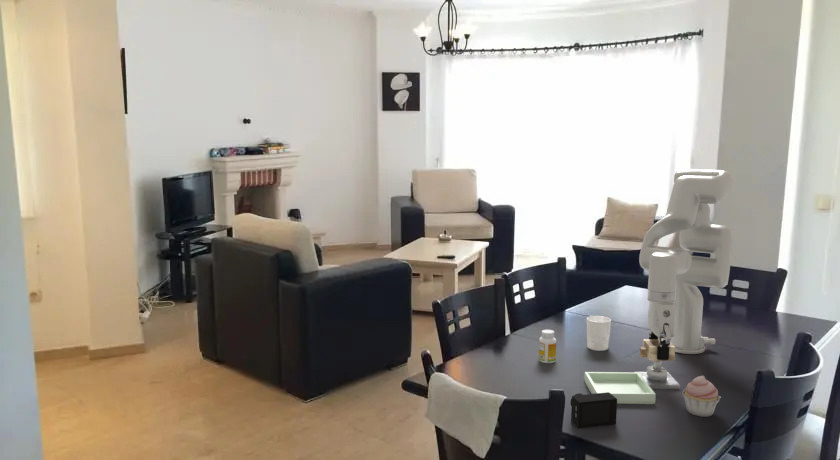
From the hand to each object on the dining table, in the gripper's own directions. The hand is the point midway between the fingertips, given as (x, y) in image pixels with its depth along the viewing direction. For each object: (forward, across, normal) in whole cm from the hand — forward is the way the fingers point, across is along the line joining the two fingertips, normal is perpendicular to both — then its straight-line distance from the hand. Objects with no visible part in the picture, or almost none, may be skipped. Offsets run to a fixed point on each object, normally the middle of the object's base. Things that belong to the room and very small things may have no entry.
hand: (658, 354), depth 192 cm
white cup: (+9, +29, +10) cm, 32 cm away
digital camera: (+8, -27, +25) cm, 38 cm away
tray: (+8, -8, +13) cm, 18 cm away
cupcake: (+8, -21, -5) cm, 23 cm away
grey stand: (+8, -1, 0) cm, 8 cm away
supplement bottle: (+9, +16, +29) cm, 35 cm away
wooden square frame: (+1, 0, 0) cm, 1 cm away
